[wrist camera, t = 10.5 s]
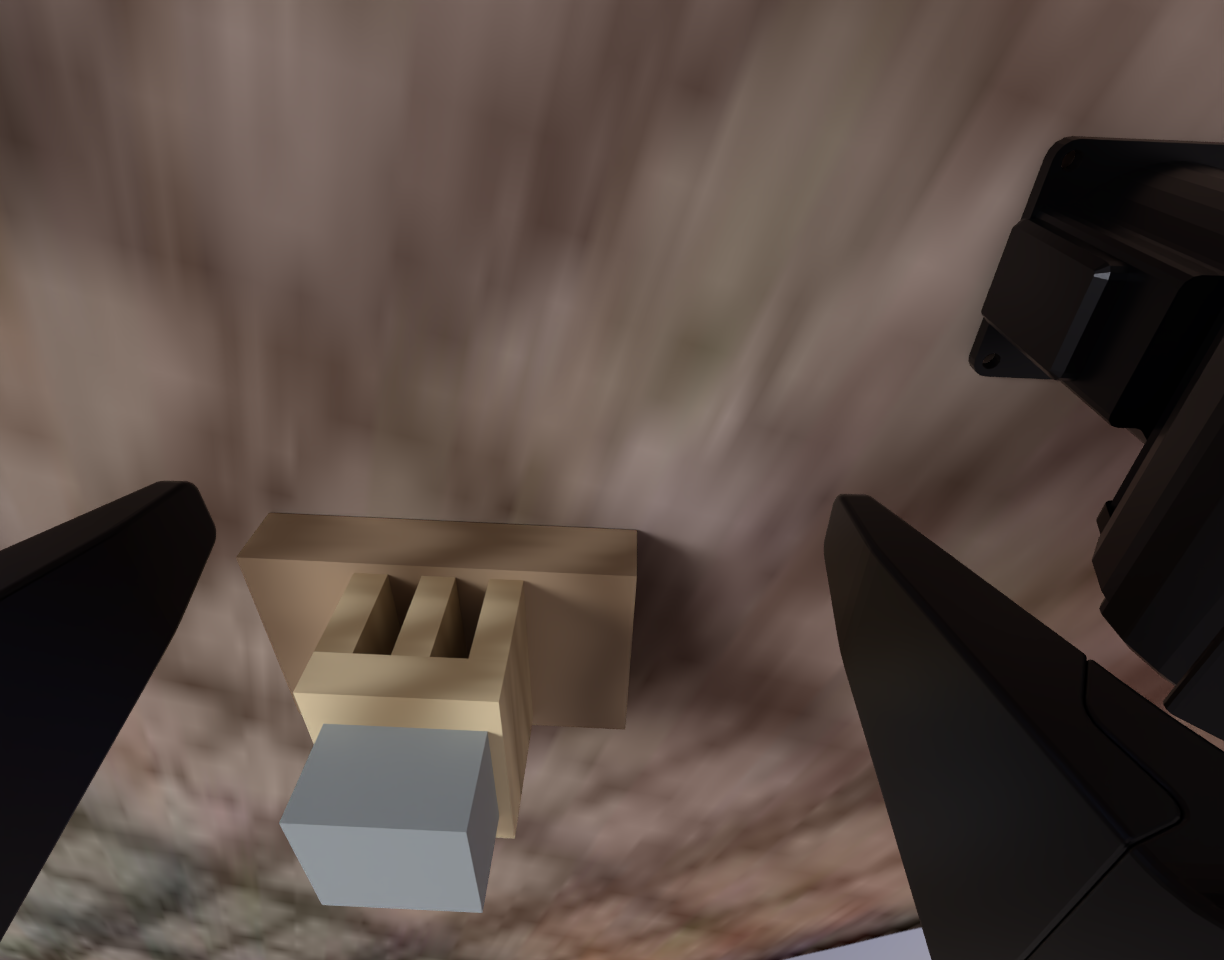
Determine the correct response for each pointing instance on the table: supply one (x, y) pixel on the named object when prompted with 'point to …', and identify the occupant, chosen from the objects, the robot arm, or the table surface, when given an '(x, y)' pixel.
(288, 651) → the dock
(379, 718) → the block
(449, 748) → the block
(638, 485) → the table surface
